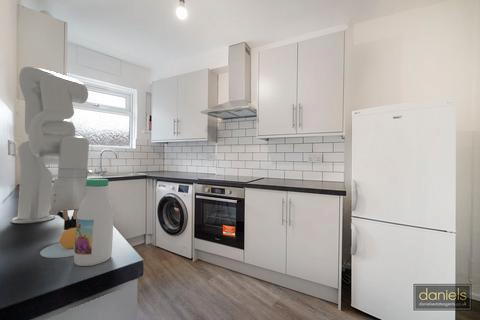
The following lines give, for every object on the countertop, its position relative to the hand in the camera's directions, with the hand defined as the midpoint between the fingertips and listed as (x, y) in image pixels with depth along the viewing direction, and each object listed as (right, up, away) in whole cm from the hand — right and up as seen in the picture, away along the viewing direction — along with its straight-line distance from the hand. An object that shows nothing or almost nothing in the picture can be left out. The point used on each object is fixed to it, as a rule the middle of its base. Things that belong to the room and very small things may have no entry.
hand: (69, 231), depth 69 cm
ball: (+8, +1, -9) cm, 12 cm away
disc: (+8, -2, -9) cm, 12 cm away
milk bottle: (+18, -2, -16) cm, 24 cm away
